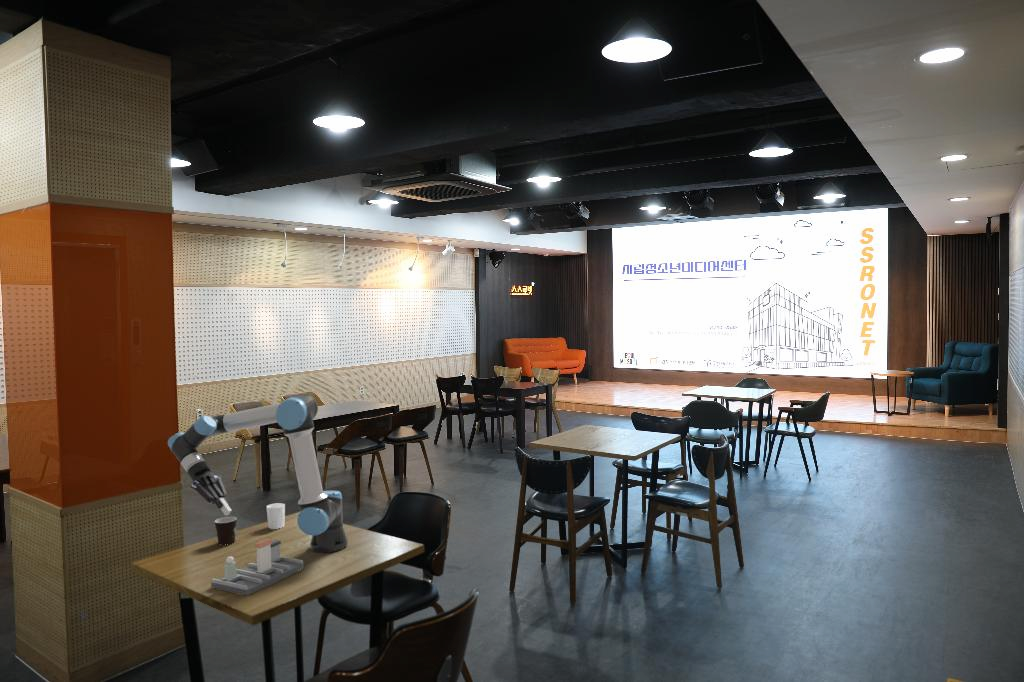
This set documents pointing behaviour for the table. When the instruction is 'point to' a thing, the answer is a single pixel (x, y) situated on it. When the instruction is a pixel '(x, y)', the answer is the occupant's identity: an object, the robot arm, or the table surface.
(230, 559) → the sage knob slider
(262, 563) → the white tall block
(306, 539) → the table surface
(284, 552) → the table surface
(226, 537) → the coffee mug
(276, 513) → the white cup
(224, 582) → the grey slotted tray
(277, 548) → the grey slider
